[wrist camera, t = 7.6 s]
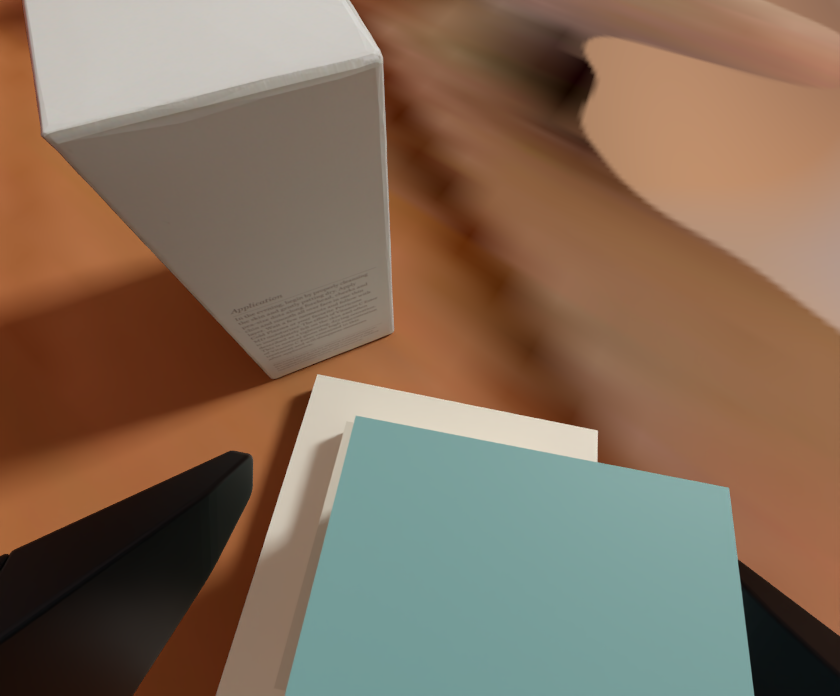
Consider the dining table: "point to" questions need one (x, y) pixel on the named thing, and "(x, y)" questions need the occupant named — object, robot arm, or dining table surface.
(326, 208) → the small box
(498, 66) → the dining table surface
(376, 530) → the pillar
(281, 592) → the plinth
